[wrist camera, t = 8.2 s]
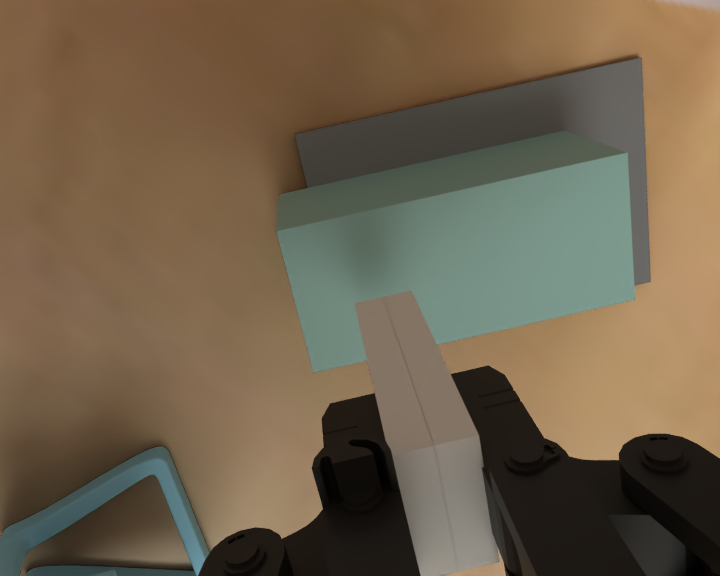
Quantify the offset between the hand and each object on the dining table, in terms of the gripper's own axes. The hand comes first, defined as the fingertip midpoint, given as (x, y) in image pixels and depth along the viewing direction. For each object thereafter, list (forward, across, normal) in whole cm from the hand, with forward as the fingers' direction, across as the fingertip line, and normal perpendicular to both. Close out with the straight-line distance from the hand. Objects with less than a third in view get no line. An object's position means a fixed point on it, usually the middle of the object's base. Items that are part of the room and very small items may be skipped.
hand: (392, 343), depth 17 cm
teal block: (+7, -3, 0) cm, 7 cm away
